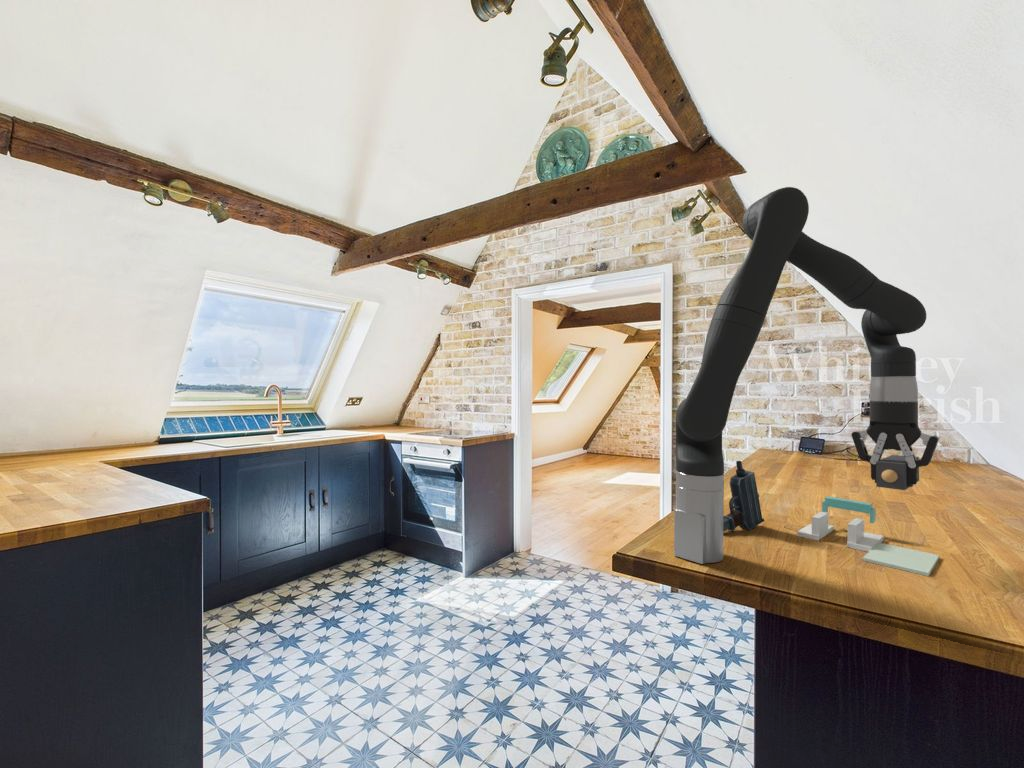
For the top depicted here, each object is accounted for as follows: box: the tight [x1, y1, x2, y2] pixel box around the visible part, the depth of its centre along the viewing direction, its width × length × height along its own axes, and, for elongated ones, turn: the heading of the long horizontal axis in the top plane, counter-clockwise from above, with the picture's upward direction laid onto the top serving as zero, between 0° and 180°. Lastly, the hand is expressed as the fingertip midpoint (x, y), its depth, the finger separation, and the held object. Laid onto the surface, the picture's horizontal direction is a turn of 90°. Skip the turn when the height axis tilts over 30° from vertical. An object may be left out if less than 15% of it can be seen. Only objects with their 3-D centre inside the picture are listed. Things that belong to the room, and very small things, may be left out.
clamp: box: [796, 511, 884, 553], centre depth 108 cm, size 12×14×5 cm
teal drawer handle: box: [821, 495, 877, 524], centre depth 112 cm, size 2×10×4 cm, turn 41°
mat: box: [862, 542, 940, 577], centre depth 95 cm, size 14×10×1 cm
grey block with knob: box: [875, 454, 920, 491], centre depth 96 cm, size 16×4×5 cm, turn 130°
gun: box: [723, 460, 765, 533], centre depth 113 cm, size 3×17×15 cm
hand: (893, 484), depth 93 cm, fingers closed on grey block with knob, 4 cm apart
